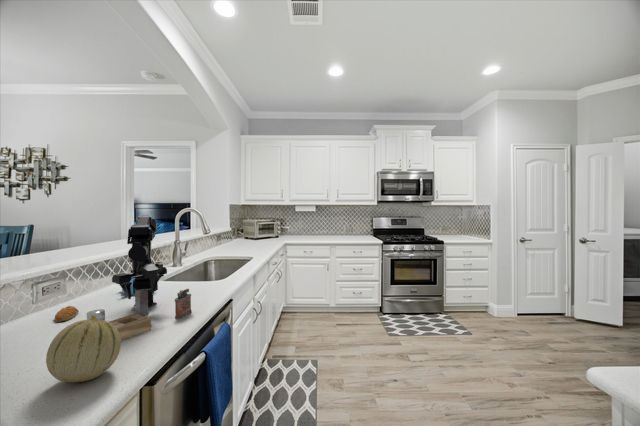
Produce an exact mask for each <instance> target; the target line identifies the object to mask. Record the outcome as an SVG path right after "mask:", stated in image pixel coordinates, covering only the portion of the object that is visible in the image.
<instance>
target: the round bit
mask: <svg viewBox="0 0 640 426" xmlns="http://www.w3.org/2000/svg"><path fill="white" fill-rule="evenodd" d="M92 315H94V316H96V319H98V320H105V321H106V310H105V309H104V308H103V309H101V308H100V309H98V308H97V309H92V310H91V311H90V310H89V311H87V313H86V320H90V319H92V318H91V317H92Z"/></svg>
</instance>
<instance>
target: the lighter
mask: <svg viewBox="0 0 640 426" xmlns="http://www.w3.org/2000/svg"><path fill="white" fill-rule="evenodd" d="M189 292H190V288H185V289H183V290H182V289H181V290H179V292H177V297H176V298H174V302H175V305H174V306H175V307H174V309H175V316H174V318H175V319H176V320H181V319H182V318H185V317H187V316H189V315H190V314H192V304H191V303H192V298H191V297H192V293H189Z"/></svg>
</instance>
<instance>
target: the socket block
mask: <svg viewBox="0 0 640 426" xmlns="http://www.w3.org/2000/svg"><path fill="white" fill-rule="evenodd" d="M108 322H109V323H111V324H113V325H114V326H115V327H116V328H117V330H118V332H119V334H120V337H121V342H122V341H124V340H126V339H127V340H128V339H129V338H131V337H135V336H138V335H140V334H142V333H145V332H147V331H150V330H152V319H151V318H150V317H147V316H141V315H138V314H135V313H132V314H129V315H125V316H123V317H122V316H121V317H119V318H116V319H112V320H109V321H108Z"/></svg>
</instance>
